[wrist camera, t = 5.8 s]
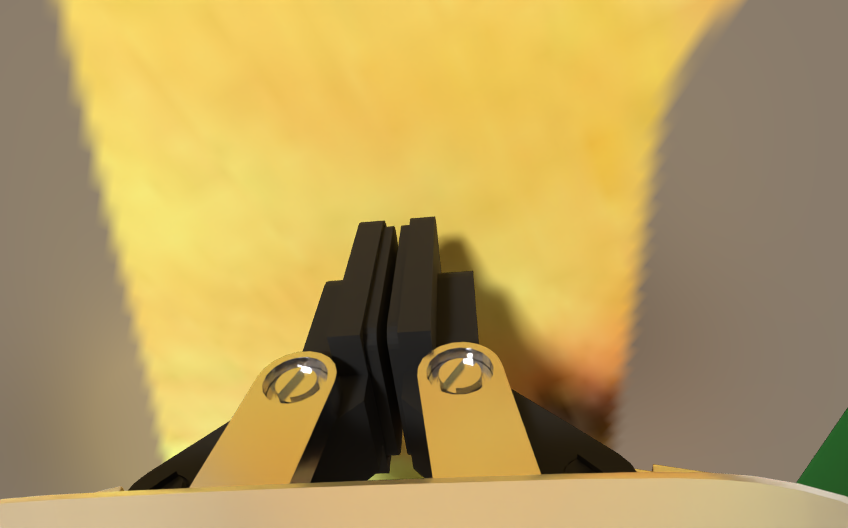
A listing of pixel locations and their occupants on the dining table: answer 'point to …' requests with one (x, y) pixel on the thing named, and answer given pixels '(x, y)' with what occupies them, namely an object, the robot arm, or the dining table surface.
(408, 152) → the dining table surface
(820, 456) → the milk carton
